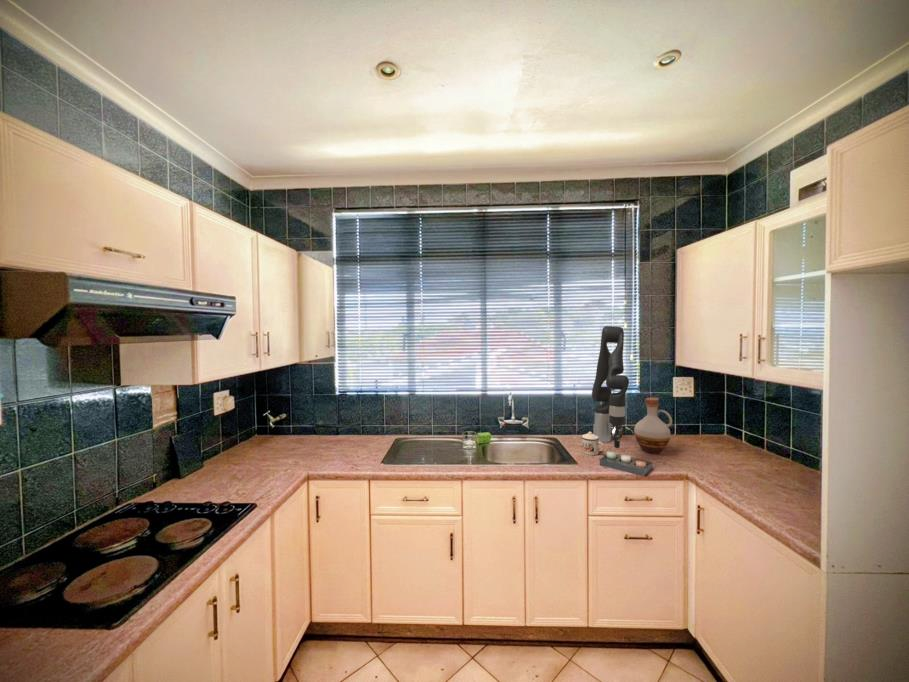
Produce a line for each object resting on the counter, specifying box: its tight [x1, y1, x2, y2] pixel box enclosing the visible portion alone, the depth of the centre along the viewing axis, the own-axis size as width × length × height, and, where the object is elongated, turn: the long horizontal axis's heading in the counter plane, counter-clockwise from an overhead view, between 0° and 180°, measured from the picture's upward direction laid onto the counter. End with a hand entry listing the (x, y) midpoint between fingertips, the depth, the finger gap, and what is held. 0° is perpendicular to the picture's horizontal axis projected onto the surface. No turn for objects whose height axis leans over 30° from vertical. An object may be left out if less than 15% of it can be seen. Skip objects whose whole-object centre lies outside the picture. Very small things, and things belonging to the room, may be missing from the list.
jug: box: [633, 397, 673, 455], centre depth 200 cm, size 20×18×30 cm
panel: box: [599, 453, 654, 477], centre depth 179 cm, size 21×13×3 cm, turn 46°
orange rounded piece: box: [636, 461, 646, 467], centre depth 174 cm, size 4×4×4 cm
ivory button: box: [620, 453, 632, 464], centre depth 179 cm, size 4×4×4 cm
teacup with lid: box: [581, 431, 605, 456], centre depth 199 cm, size 12×9×12 cm
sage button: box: [606, 450, 617, 460], centre depth 184 cm, size 4×4×4 cm
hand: (616, 447), depth 183 cm, fingers closed
